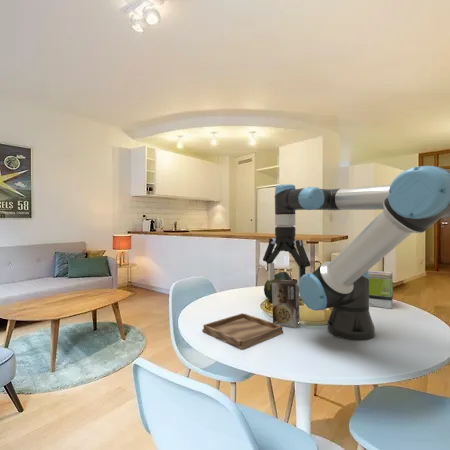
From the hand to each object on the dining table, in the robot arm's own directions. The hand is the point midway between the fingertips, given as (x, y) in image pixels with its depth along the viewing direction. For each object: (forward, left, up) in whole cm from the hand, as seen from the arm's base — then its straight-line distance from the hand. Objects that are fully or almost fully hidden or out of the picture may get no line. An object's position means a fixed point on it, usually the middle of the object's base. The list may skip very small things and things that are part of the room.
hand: (285, 282), depth 113 cm
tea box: (-11, -50, -16) cm, 54 cm away
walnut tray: (+5, +18, -15) cm, 24 cm away
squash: (+22, -24, -16) cm, 36 cm away
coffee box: (0, 0, -16) cm, 16 cm away
